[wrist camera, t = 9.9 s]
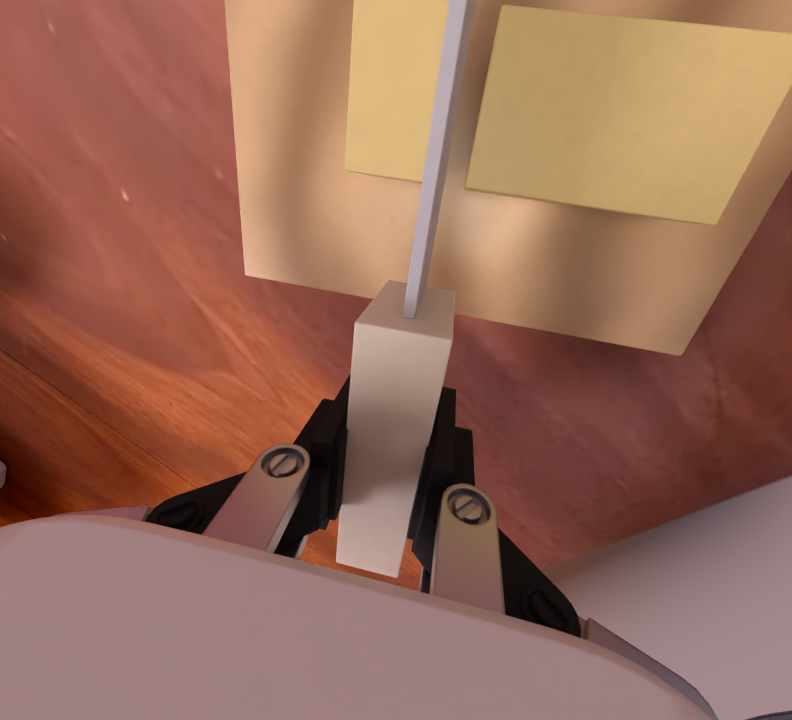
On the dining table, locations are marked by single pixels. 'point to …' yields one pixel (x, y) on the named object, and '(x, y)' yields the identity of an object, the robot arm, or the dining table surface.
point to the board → (468, 210)
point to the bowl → (2, 473)
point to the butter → (625, 111)
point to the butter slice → (393, 85)
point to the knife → (402, 355)
